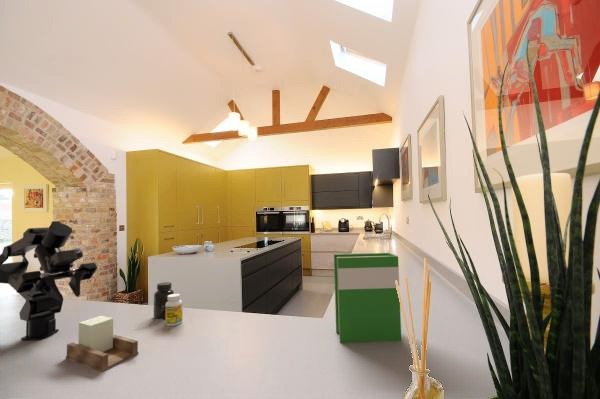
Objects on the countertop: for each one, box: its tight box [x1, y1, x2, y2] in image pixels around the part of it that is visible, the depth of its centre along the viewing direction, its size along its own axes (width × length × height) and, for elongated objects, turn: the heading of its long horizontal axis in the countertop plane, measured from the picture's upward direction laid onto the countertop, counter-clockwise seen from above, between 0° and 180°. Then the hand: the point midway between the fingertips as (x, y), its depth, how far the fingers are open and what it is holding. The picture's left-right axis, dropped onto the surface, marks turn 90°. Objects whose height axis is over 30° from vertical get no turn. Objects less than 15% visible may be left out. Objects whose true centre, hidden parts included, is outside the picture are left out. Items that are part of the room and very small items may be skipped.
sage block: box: [77, 315, 114, 352], centre depth 76 cm, size 6×6×8 cm
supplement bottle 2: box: [165, 293, 183, 327], centre depth 96 cm, size 5×5×10 cm
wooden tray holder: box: [65, 333, 139, 373], centre depth 74 cm, size 16×9×4 cm, turn 65°
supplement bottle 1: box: [153, 281, 175, 320], centre depth 103 cm, size 7×7×12 cm
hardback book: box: [333, 252, 402, 344], centre depth 83 cm, size 18×7×24 cm, turn 91°
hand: (70, 297), depth 82 cm, fingers open, 4 cm apart
